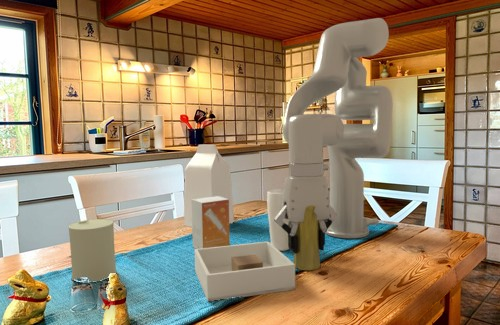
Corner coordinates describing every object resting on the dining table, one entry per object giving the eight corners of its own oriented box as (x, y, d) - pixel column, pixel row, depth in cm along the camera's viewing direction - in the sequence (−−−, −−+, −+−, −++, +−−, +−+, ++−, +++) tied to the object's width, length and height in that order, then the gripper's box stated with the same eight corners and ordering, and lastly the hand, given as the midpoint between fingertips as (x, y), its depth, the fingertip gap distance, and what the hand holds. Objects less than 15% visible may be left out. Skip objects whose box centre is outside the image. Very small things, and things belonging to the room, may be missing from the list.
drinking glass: (297, 246, 105) (296, 189, 104) (289, 253, 99) (288, 194, 98) (273, 243, 108) (272, 188, 106) (263, 250, 102) (262, 192, 100)
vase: (313, 272, 86) (313, 207, 85) (288, 267, 89) (287, 205, 88) (324, 264, 91) (324, 202, 90) (299, 259, 94) (299, 200, 93)
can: (97, 265, 94) (94, 215, 92) (125, 272, 89) (122, 219, 88) (62, 278, 86) (58, 224, 85) (90, 287, 81) (87, 229, 80)
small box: (203, 253, 101) (201, 202, 99) (192, 247, 106) (190, 199, 105) (230, 247, 105) (229, 198, 104) (219, 241, 110) (217, 195, 109)
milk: (183, 225, 129) (180, 145, 126) (205, 218, 139) (203, 143, 136) (213, 230, 122) (211, 145, 120) (234, 222, 132) (232, 143, 130)
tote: (268, 262, 93) (268, 241, 93) (295, 289, 78) (295, 264, 77) (195, 271, 88) (194, 249, 88) (207, 301, 73) (207, 275, 72)
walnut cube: (255, 278, 82) (255, 254, 82) (263, 287, 77) (262, 262, 77) (232, 281, 81) (231, 257, 80) (238, 290, 76) (237, 265, 76)
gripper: (333, 167, 94) (333, 241, 96) (263, 170, 89) (265, 249, 91) (349, 170, 87) (349, 251, 89) (275, 174, 82) (276, 259, 84)
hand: (306, 249), depth 90 cm, fingers closed on vase, 5 cm apart
